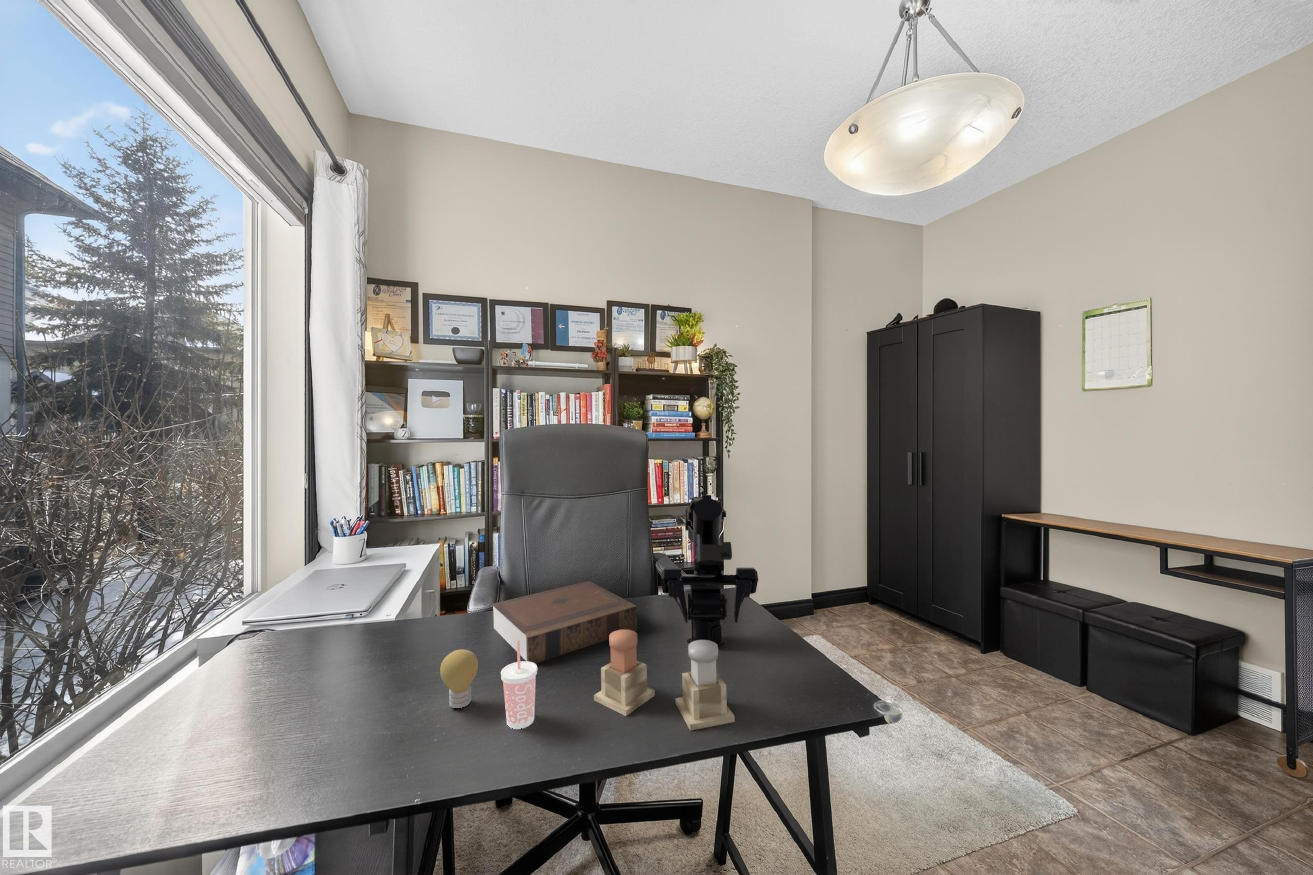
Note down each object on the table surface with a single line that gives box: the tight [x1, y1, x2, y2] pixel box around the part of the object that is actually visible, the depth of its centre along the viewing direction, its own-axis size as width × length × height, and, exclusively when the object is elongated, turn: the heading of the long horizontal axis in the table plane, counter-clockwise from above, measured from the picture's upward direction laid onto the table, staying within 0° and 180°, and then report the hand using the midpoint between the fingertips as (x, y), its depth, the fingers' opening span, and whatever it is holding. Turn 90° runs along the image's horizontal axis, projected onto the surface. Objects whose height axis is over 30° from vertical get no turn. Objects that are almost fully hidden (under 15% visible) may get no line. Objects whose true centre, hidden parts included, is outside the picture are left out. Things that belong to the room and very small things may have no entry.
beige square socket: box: [675, 671, 736, 731], centre depth 85 cm, size 8×8×6 cm
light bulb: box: [439, 649, 479, 709], centre depth 88 cm, size 6×6×10 cm
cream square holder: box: [593, 660, 656, 717], centre depth 90 cm, size 8×8×6 cm
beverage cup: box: [500, 641, 538, 730], centre depth 83 cm, size 6×6×14 cm
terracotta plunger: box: [608, 630, 638, 674], centre depth 90 cm, size 5×5×6 cm
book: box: [491, 580, 638, 664], centre depth 121 cm, size 24×28×6 cm
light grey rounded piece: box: [687, 640, 719, 687], centre depth 85 cm, size 5×5×6 cm
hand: (711, 621), depth 90 cm, fingers open, 9 cm apart
